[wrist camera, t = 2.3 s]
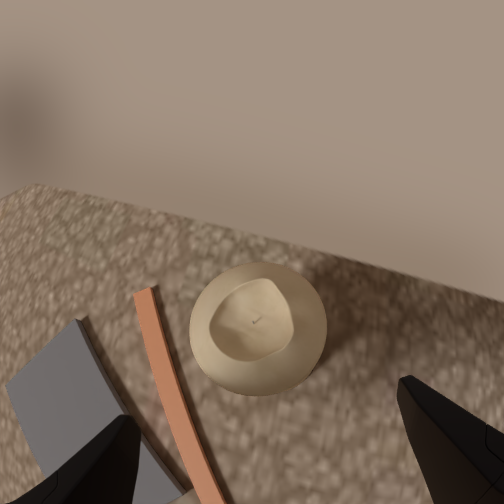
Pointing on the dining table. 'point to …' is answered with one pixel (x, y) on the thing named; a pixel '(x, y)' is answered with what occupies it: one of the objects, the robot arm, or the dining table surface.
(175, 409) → the orange curved strip
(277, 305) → the candle
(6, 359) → the dining table surface
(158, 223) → the dining table surface
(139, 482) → the mat
